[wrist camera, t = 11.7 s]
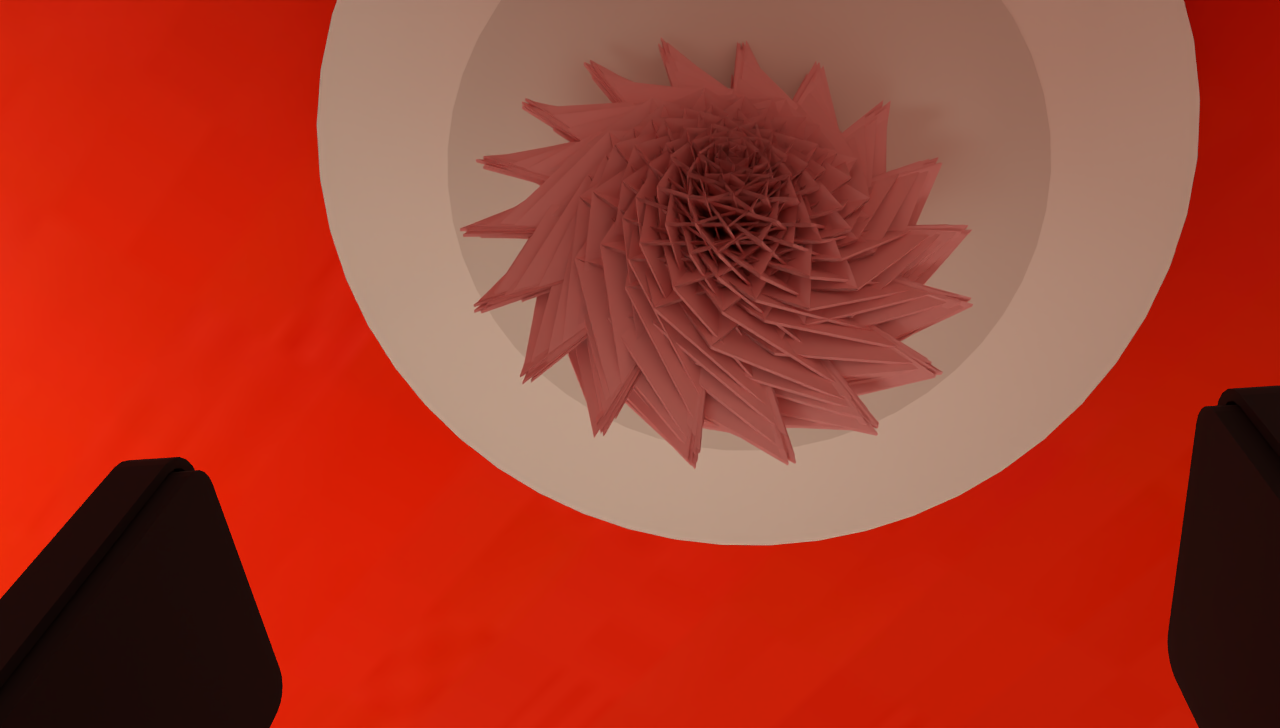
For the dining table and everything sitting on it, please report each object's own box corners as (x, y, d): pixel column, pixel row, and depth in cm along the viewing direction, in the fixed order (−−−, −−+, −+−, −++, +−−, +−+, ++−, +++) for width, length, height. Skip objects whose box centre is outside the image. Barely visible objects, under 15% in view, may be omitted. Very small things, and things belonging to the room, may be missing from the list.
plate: (239, -233, 19) (206, -233, 18) (1226, -374, 17) (1261, -386, 16) (429, 528, 26) (415, 562, 25) (1137, 496, 24) (1156, 532, 23)
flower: (751, 646, 18) (822, 531, 13) (385, 367, 20) (325, 176, 15) (989, 316, 21) (1117, 124, 16) (652, 104, 23) (676, -126, 18)
